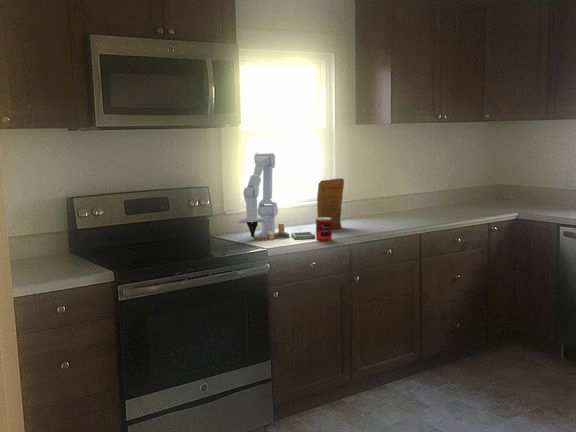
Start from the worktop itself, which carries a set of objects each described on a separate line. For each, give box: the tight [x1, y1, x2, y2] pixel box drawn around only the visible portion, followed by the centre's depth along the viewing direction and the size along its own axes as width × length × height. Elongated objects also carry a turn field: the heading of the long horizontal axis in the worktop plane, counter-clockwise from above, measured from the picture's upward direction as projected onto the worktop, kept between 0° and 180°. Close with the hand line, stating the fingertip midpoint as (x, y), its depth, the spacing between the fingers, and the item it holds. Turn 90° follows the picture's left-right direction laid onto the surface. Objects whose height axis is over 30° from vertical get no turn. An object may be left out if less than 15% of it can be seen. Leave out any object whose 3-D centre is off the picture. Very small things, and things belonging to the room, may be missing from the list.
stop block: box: [267, 232, 275, 241], centre depth 333 cm, size 8×2×3 cm, turn 9°
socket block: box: [274, 231, 290, 239], centre depth 337 cm, size 7×7×2 cm
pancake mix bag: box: [316, 178, 345, 230], centre depth 360 cm, size 7×19×28 cm, turn 121°
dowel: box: [277, 222, 285, 234], centre depth 336 cm, size 3×3×7 cm
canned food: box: [315, 217, 333, 242], centre depth 322 cm, size 8×8×11 cm
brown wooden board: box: [252, 233, 268, 242], centre depth 332 cm, size 9×6×2 cm, turn 9°
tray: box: [291, 231, 316, 240], centre depth 333 cm, size 12×10×2 cm
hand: (252, 236), depth 331 cm, fingers closed
